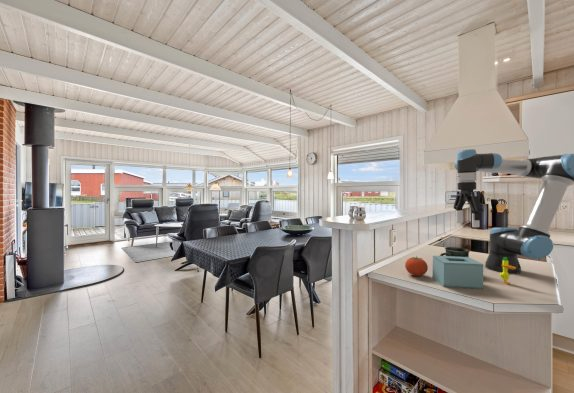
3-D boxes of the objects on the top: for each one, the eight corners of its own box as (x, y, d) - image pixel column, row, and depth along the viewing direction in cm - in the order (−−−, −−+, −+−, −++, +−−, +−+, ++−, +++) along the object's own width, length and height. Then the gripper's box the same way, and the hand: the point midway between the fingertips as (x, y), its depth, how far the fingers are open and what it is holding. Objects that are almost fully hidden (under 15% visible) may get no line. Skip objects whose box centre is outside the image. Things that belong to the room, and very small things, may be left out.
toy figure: (517, 285, 116) (518, 259, 116) (512, 286, 115) (513, 260, 115) (501, 280, 123) (502, 256, 122) (496, 281, 121) (496, 256, 121)
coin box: (467, 279, 124) (468, 257, 124) (482, 289, 112) (483, 264, 112) (432, 277, 126) (432, 255, 126) (443, 286, 115) (444, 262, 114)
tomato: (404, 271, 136) (404, 252, 136) (425, 273, 133) (425, 254, 132) (406, 277, 126) (406, 257, 126) (429, 280, 123) (429, 259, 123)
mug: (474, 275, 131) (475, 251, 130) (446, 275, 130) (447, 251, 130) (459, 268, 142) (460, 246, 141) (433, 268, 141) (434, 246, 141)
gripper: (445, 182, 137) (446, 221, 138) (474, 181, 112) (474, 229, 113) (460, 182, 136) (461, 221, 137) (492, 180, 112) (493, 229, 112)
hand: (467, 225), depth 125 cm, fingers open, 13 cm apart
